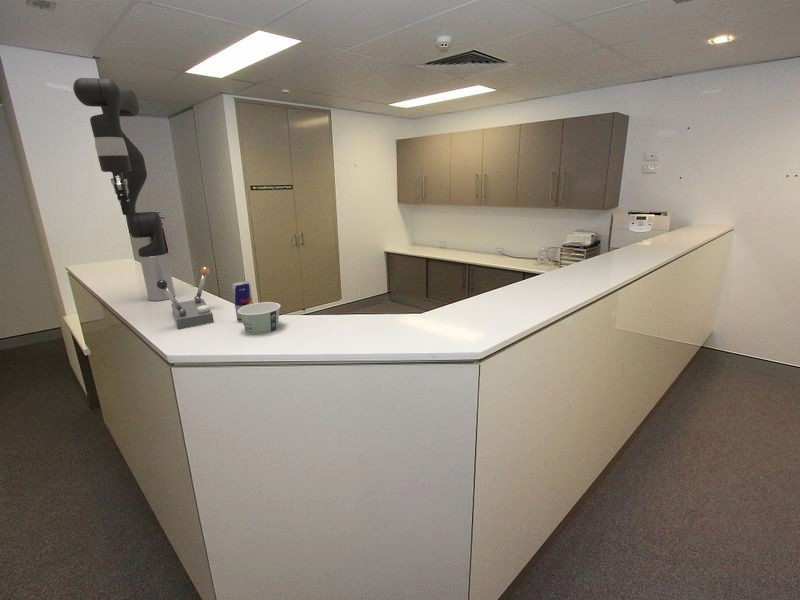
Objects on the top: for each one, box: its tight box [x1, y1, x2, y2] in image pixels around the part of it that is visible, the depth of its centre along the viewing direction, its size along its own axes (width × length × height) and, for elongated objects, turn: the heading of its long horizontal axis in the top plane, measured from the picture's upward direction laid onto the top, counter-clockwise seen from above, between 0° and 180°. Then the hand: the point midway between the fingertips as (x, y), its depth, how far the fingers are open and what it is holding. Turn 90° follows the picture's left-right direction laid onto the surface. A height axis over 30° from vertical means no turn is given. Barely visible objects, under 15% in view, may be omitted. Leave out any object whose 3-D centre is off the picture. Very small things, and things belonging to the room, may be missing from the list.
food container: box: [238, 301, 281, 335], centre depth 121 cm, size 12×12×6 cm
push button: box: [197, 304, 210, 313], centre depth 130 cm, size 3×3×2 cm
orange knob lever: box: [193, 266, 211, 303], centre depth 140 cm, size 3×3×13 cm
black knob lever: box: [156, 280, 186, 316], centre depth 124 cm, size 3×3×13 cm
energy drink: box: [231, 280, 254, 323], centre depth 129 cm, size 5×5×12 cm
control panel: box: [171, 298, 215, 330], centre depth 135 cm, size 22×10×3 cm, turn 32°
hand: (127, 214), depth 125 cm, fingers closed
